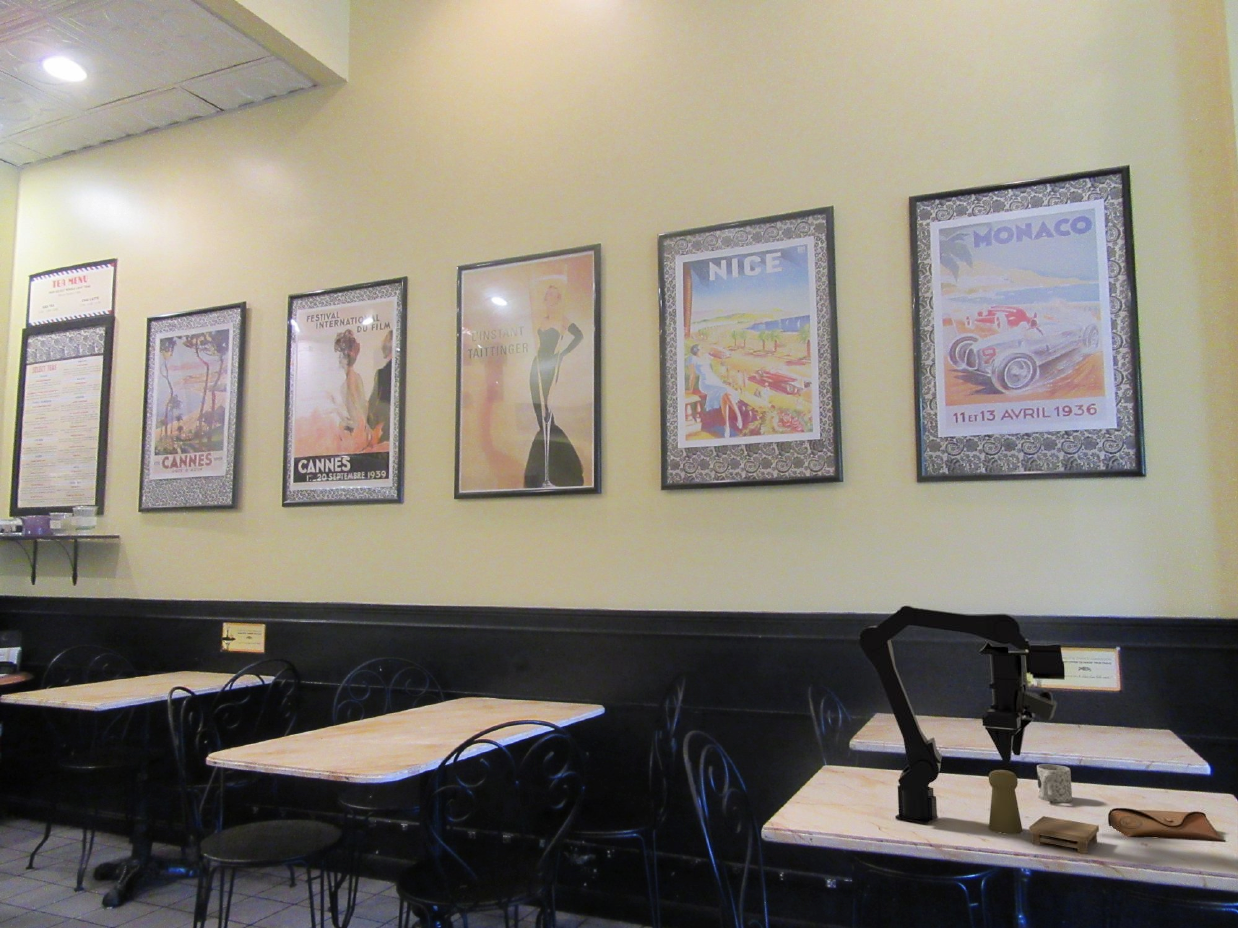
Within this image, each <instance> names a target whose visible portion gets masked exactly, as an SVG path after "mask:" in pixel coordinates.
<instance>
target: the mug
mask: <svg viewBox="0 0 1238 928" xmlns="http://www.w3.org/2000/svg"><path fill="white" fill-rule="evenodd" d="M1036 775H1037V791H1038V798H1039V799H1040V800H1042V801H1045V800H1046V802H1050V801H1052V802H1051V803H1061V804H1062V803H1063V804H1064V803H1071V802H1073V794H1072V793H1073V791H1072V789H1073V788H1072V777H1071V776H1072V775H1071V768H1070V767H1068V766H1064V765H1059V764H1058V765H1057V764H1048V763H1047V764H1044V763H1042V764H1038V765H1036ZM1070 801H1071V802H1070Z"/></svg>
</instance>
